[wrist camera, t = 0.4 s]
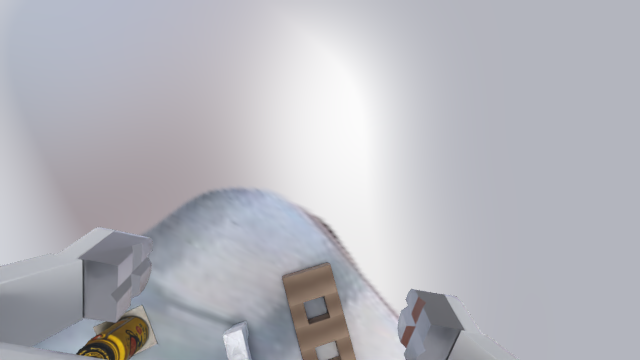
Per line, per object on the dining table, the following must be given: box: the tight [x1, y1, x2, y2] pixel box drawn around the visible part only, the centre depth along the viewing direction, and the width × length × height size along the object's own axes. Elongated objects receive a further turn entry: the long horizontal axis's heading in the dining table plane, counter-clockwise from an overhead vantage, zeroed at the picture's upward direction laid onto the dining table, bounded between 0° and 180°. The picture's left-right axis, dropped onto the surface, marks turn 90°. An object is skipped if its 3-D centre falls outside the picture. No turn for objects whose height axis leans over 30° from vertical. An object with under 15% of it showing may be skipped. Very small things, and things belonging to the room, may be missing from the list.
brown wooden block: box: [282, 263, 356, 360], centre depth 58 cm, size 22×9×3 cm, turn 16°
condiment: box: [76, 305, 157, 360], centre depth 49 cm, size 7×8×12 cm
